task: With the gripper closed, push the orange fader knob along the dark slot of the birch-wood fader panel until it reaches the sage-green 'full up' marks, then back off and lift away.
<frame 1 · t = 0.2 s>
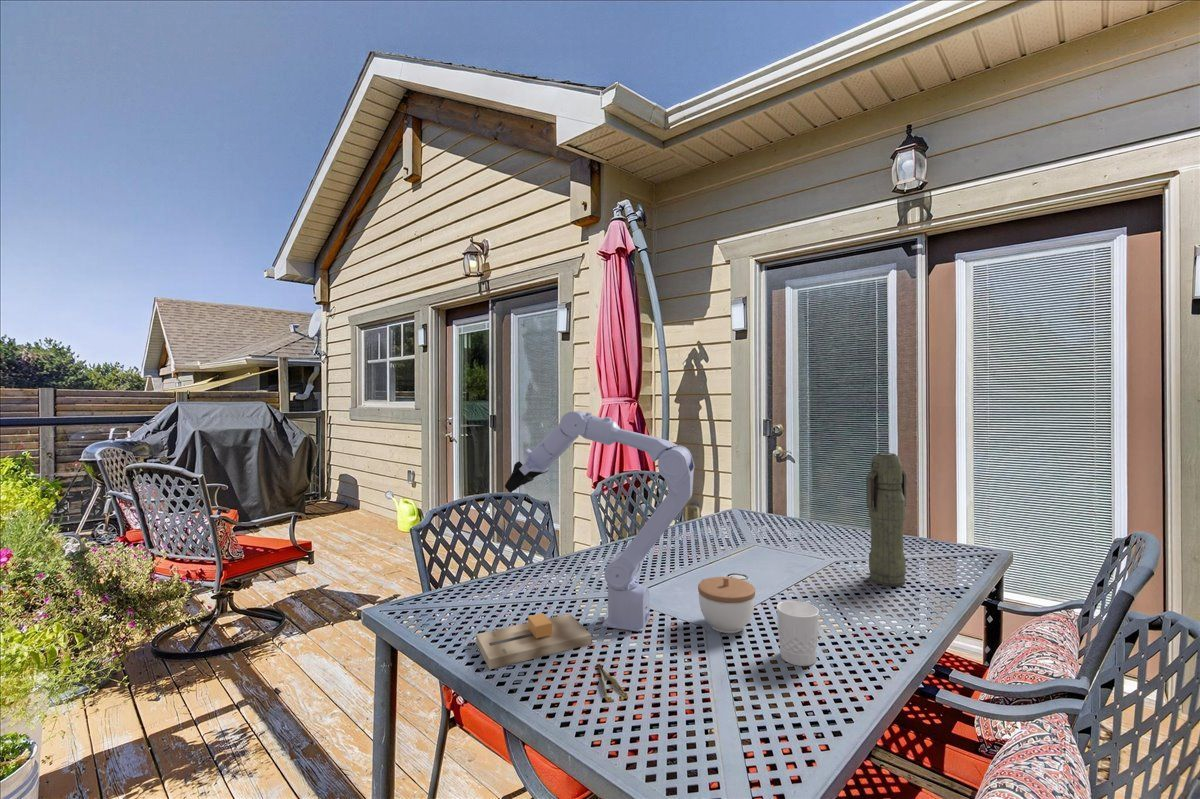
hand: (514, 485, 130), 31 cm above the table, tool tilted 45°, fingers open, 7 cm apart
white cup: (798, 658, 105), on the table
olive green statue: (887, 581, 145), on the table
fader knob: (539, 625, 114), point 4 cm above the table, slide at 0.0 cm
tongs: (605, 686, 98), on the table
fader panel: (533, 643, 113), on the table
lidded bowl: (726, 627, 120), on the table
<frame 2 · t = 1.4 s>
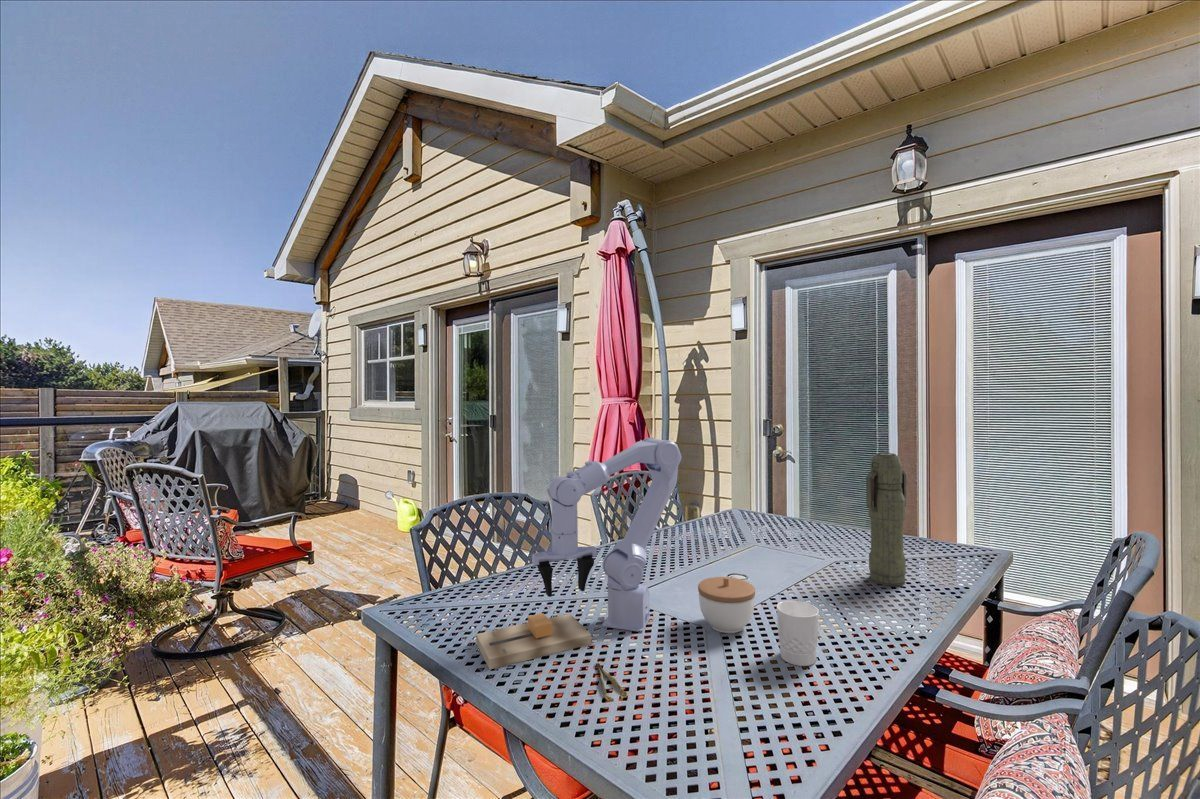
hand: (565, 592, 117), 10 cm above the table, tool pointing down, fingers open, 7 cm apart
nothing on the table moved.
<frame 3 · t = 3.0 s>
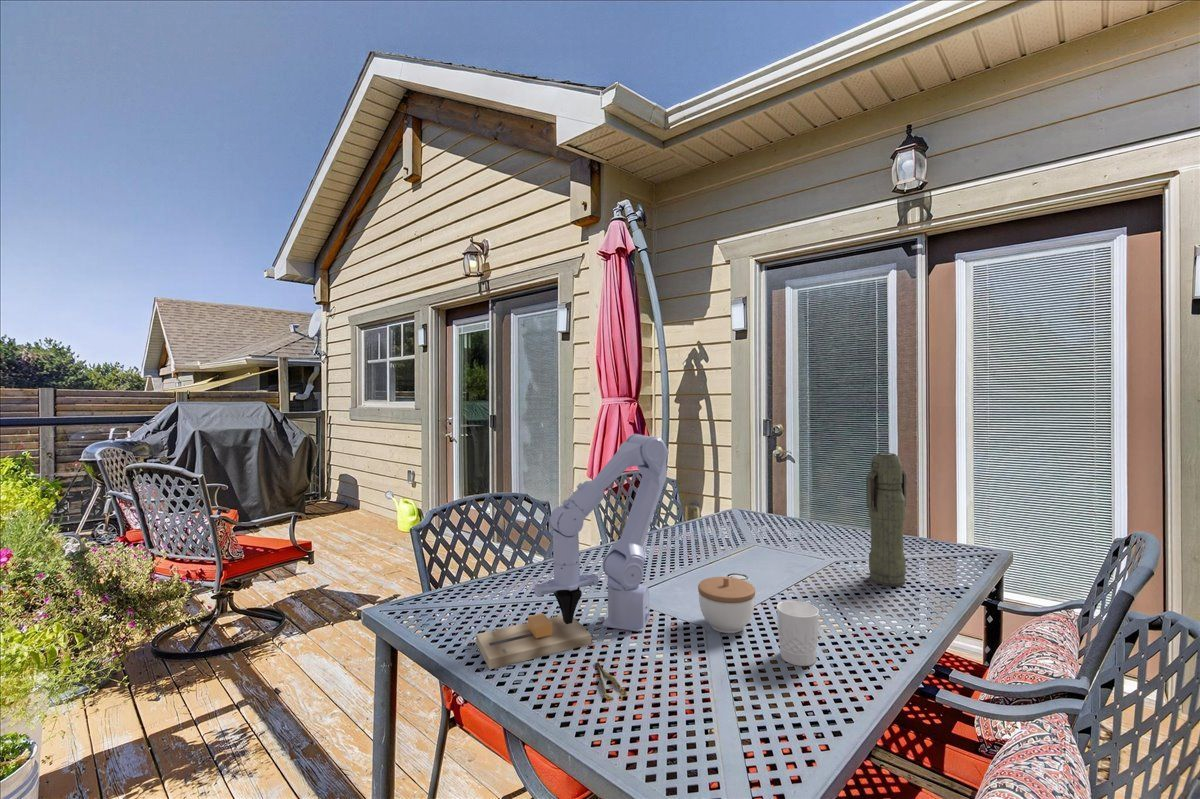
hand: (567, 622, 117), 3 cm above the table, tool pointing down, fingers closed
nothing on the table moved.
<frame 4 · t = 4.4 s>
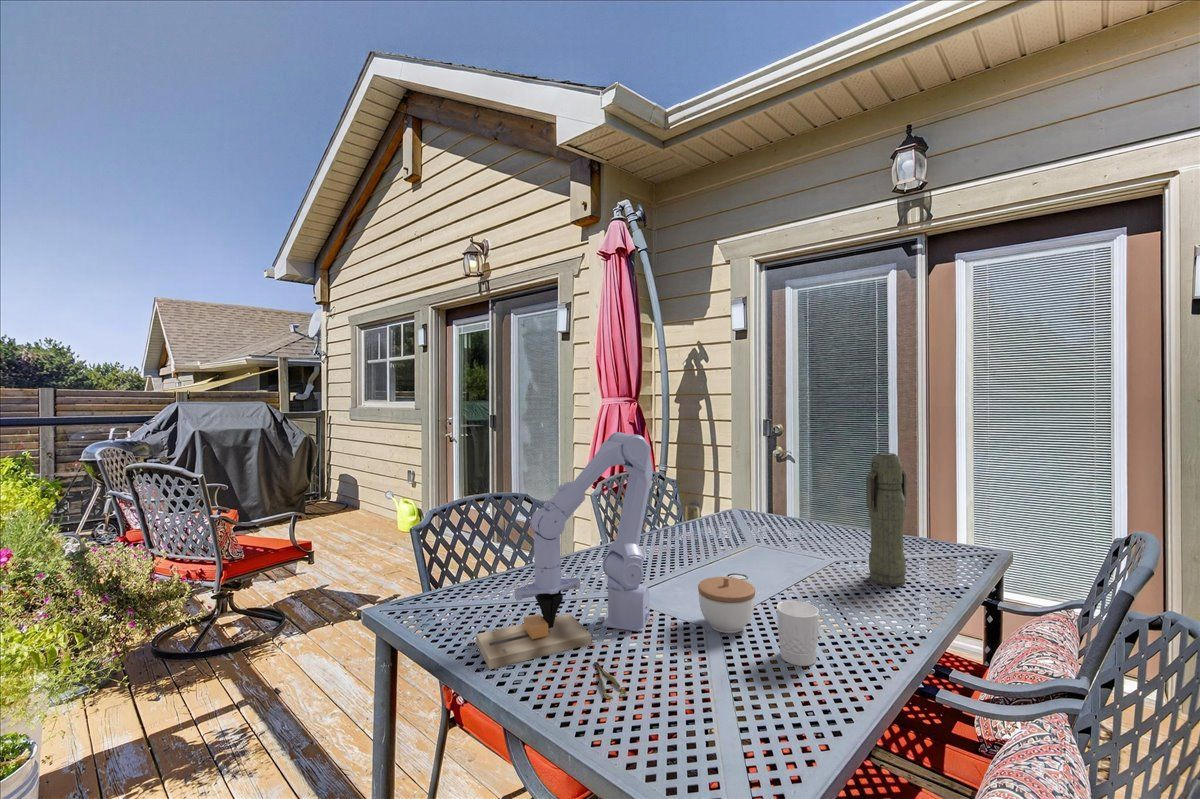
hand: (549, 626, 115), 3 cm above the table, tool pointing down, fingers closed
fader knob: (535, 626, 113), point 4 cm above the table, slide at 0.9 cm, touching gripper
everything else where it was.
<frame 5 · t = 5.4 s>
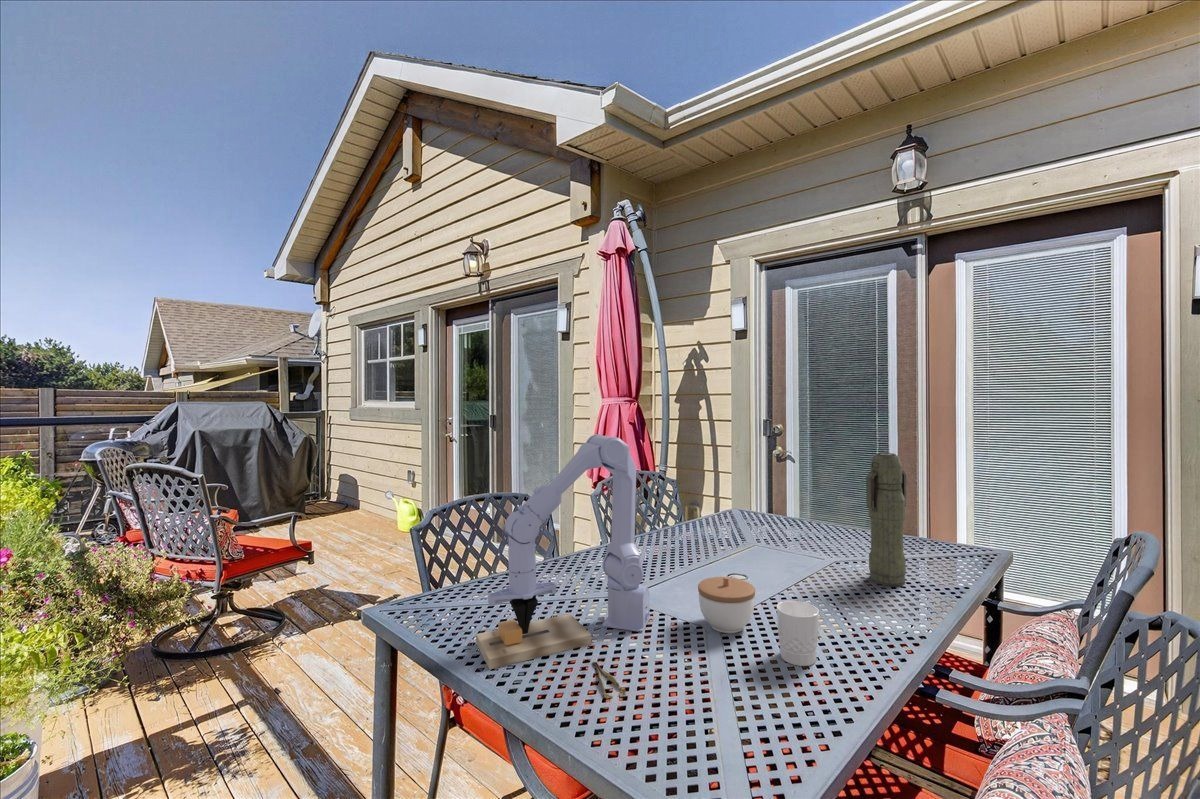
hand: (523, 631, 112), 3 cm above the table, tool pointing down, fingers closed
fader knob: (510, 632, 111), point 4 cm above the table, slide at 6.6 cm, touching gripper
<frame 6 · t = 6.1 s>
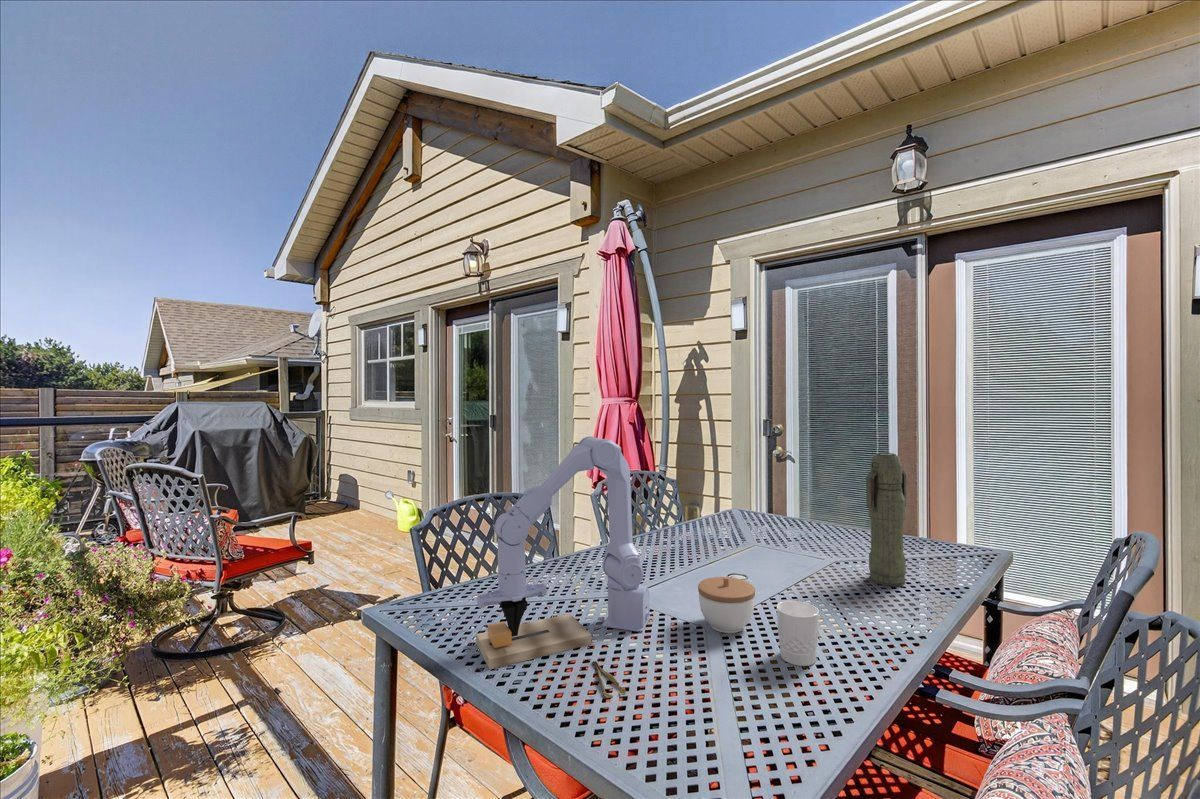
hand: (513, 634, 111), 3 cm above the table, tool pointing down, fingers closed
fader knob: (499, 634, 110), point 4 cm above the table, slide at 8.9 cm, touching gripper
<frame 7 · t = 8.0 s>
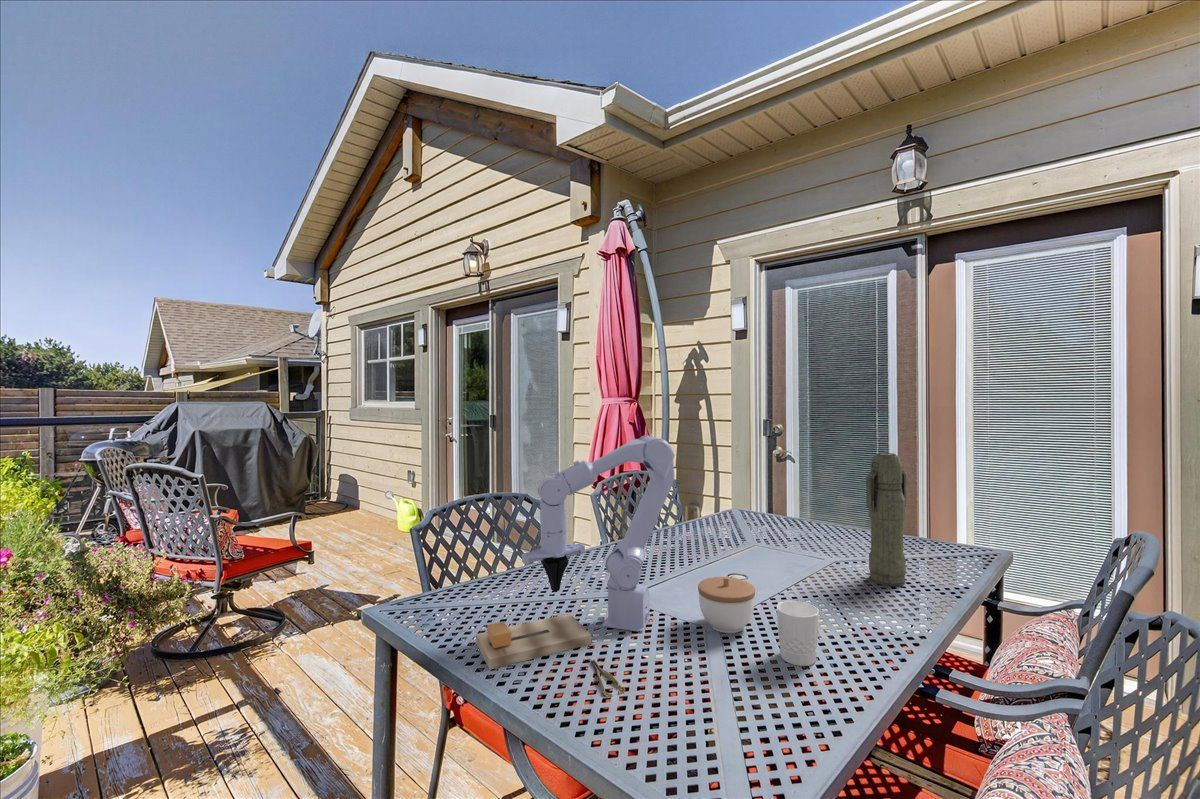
hand: (555, 589, 119), 9 cm above the table, tool pointing down, fingers closed
fader knob: (498, 634, 110), point 4 cm above the table, slide at 9.0 cm
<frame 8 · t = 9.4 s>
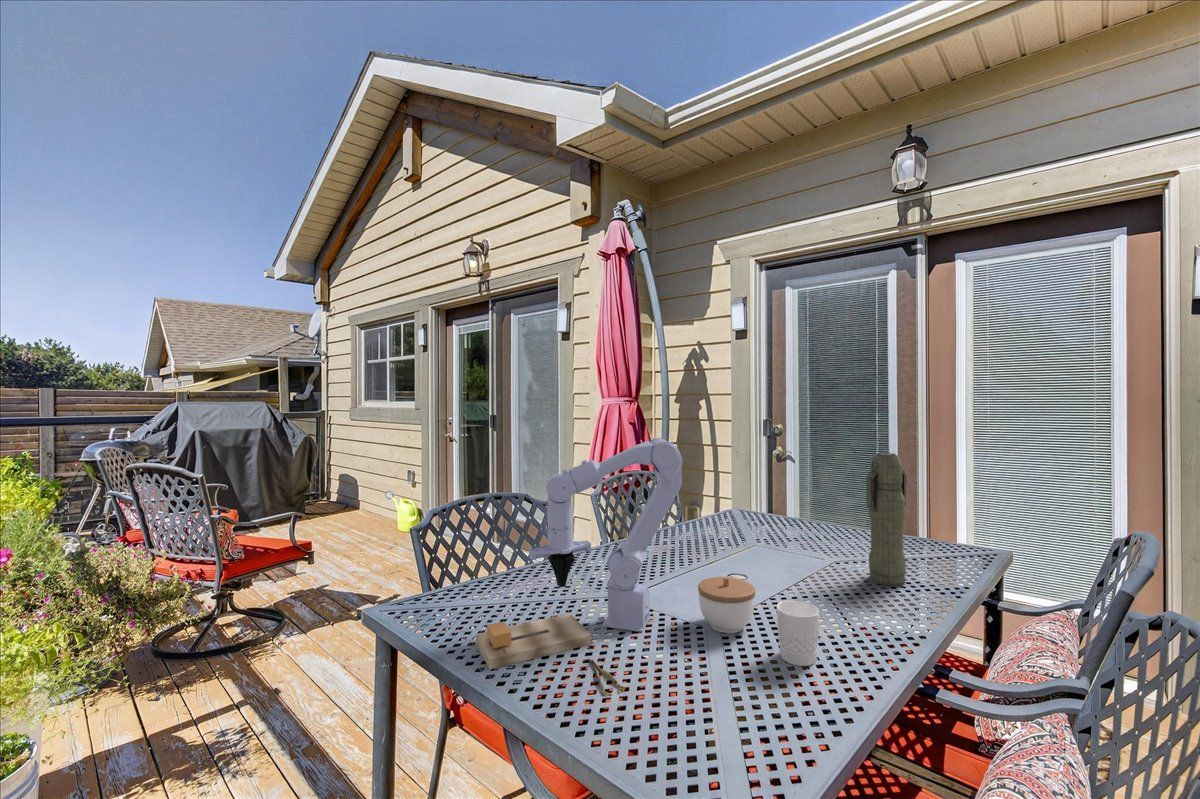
hand: (561, 585, 121), 9 cm above the table, tool pointing down, fingers closed
at the end: fader knob slide at 9.0 cm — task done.
